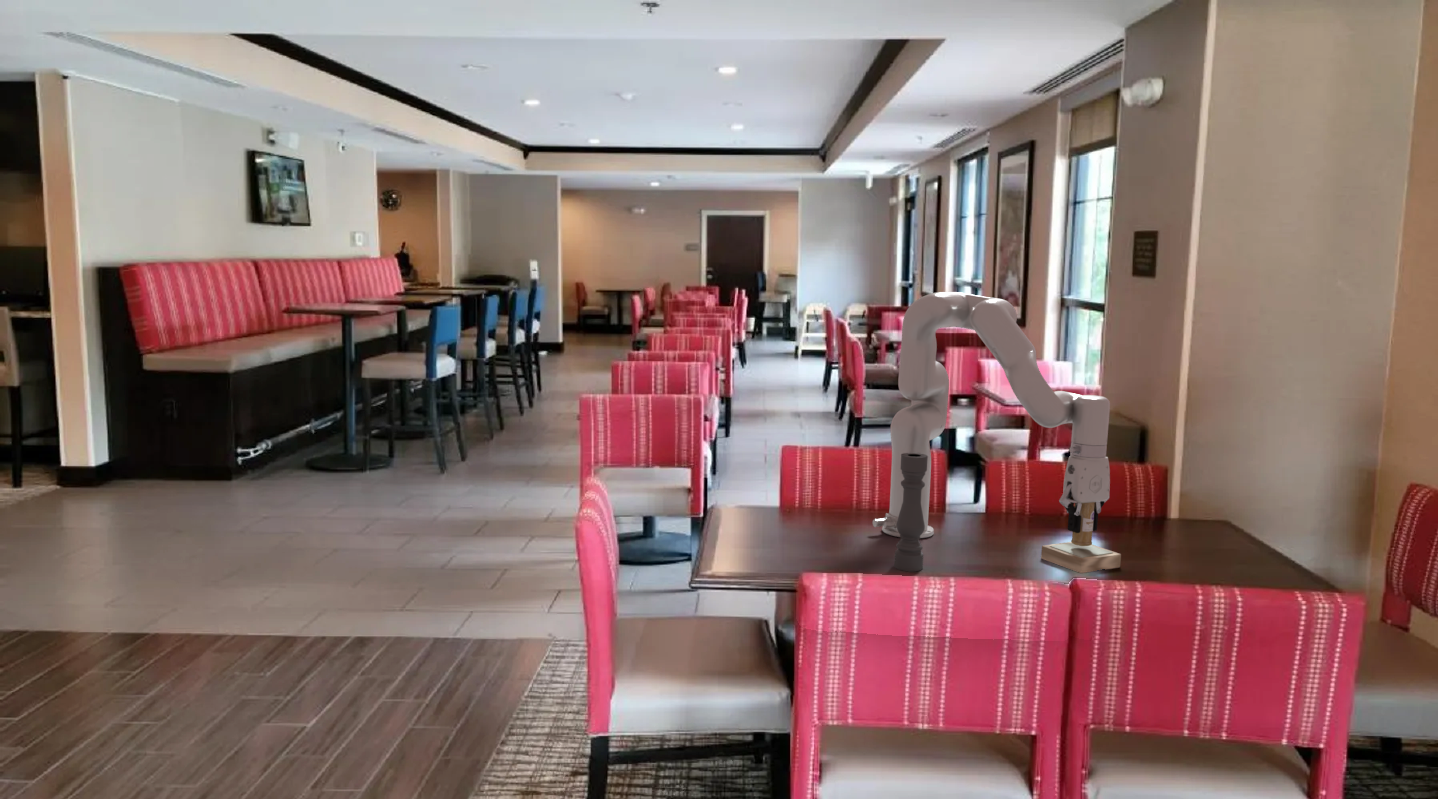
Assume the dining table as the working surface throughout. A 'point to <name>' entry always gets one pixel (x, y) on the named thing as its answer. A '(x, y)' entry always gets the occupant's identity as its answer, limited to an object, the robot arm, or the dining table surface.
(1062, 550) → the tray
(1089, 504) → the sprinkles bottle
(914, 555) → the candle holder
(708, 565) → the dining table surface
